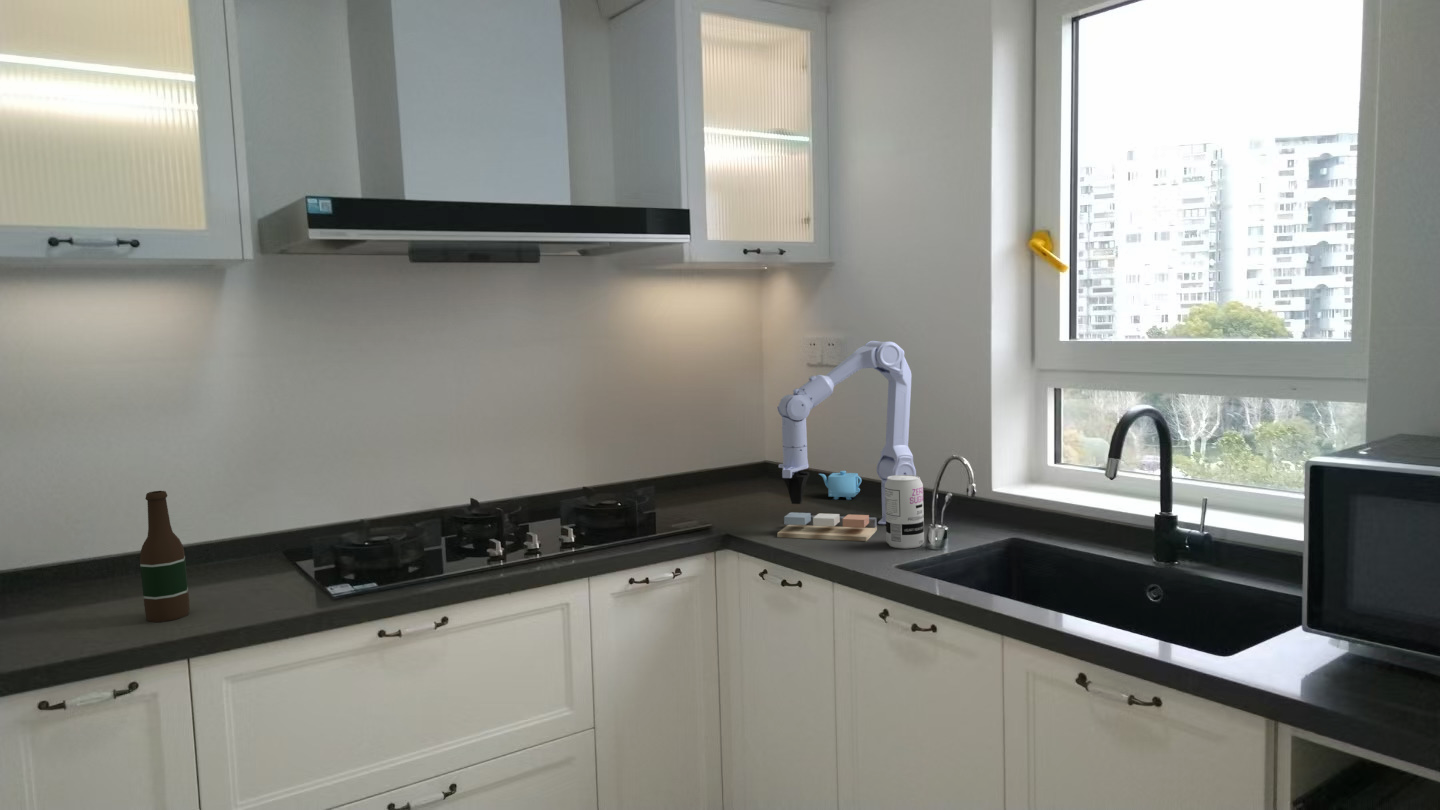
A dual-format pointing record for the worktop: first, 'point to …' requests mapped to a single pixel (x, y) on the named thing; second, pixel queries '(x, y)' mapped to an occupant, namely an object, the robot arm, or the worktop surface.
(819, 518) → the key middle
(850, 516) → the key terracotta
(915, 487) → the supplement can
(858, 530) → the keypad base
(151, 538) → the beer bottle
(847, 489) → the teapot
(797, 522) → the key slate
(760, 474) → the worktop surface
